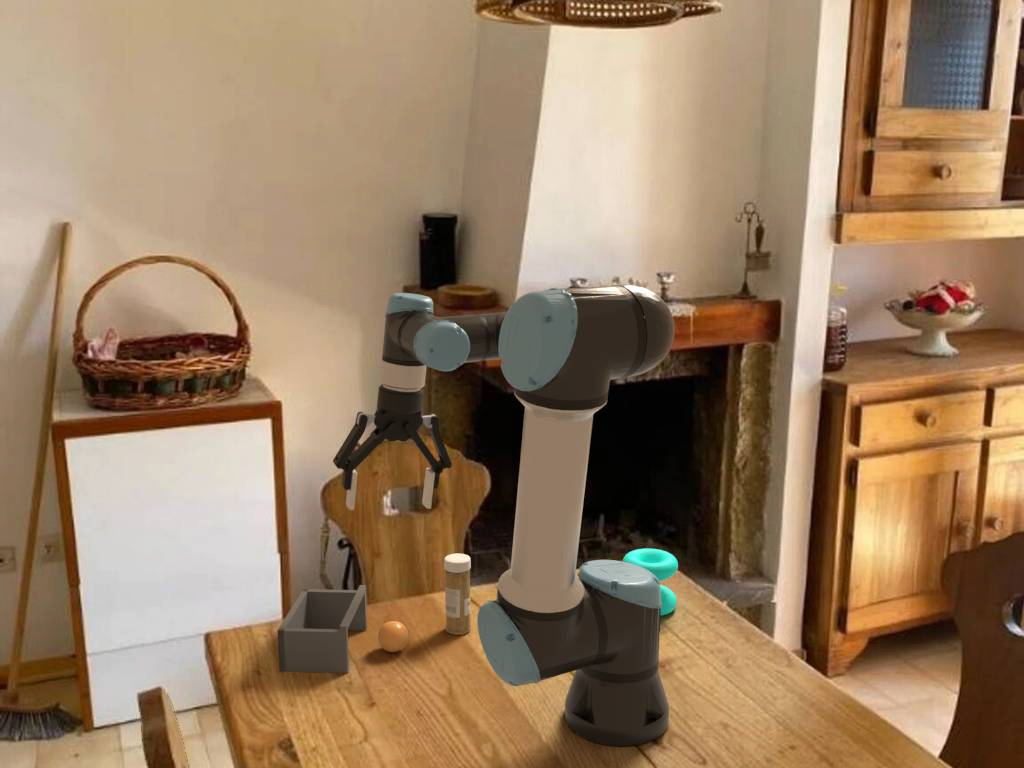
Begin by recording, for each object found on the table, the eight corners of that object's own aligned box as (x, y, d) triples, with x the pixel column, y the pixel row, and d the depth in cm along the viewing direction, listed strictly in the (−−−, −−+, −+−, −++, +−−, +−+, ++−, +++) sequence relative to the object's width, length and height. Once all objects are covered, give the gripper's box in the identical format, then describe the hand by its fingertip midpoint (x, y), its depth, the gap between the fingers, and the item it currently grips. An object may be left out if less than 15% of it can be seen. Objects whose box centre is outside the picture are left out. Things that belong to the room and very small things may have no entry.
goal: (347, 673, 156) (346, 626, 155) (279, 671, 157) (277, 624, 155) (367, 627, 172) (365, 585, 170) (304, 626, 173) (303, 583, 171)
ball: (406, 657, 161) (405, 629, 160) (375, 657, 162) (375, 628, 161) (410, 643, 166) (410, 616, 165) (381, 642, 167) (380, 615, 166)
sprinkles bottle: (476, 631, 171) (475, 558, 168) (453, 638, 168) (452, 564, 165) (462, 622, 174) (462, 550, 172) (440, 628, 172) (439, 555, 169)
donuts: (655, 571, 171) (611, 556, 178) (653, 624, 174) (610, 607, 181) (689, 556, 178) (645, 542, 185) (687, 607, 180) (644, 591, 187)
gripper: (463, 383, 172) (449, 498, 177) (322, 378, 162) (311, 500, 167) (479, 394, 166) (464, 512, 170) (333, 389, 156) (321, 516, 160)
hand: (388, 506), depth 168 cm, fingers open, 13 cm apart
